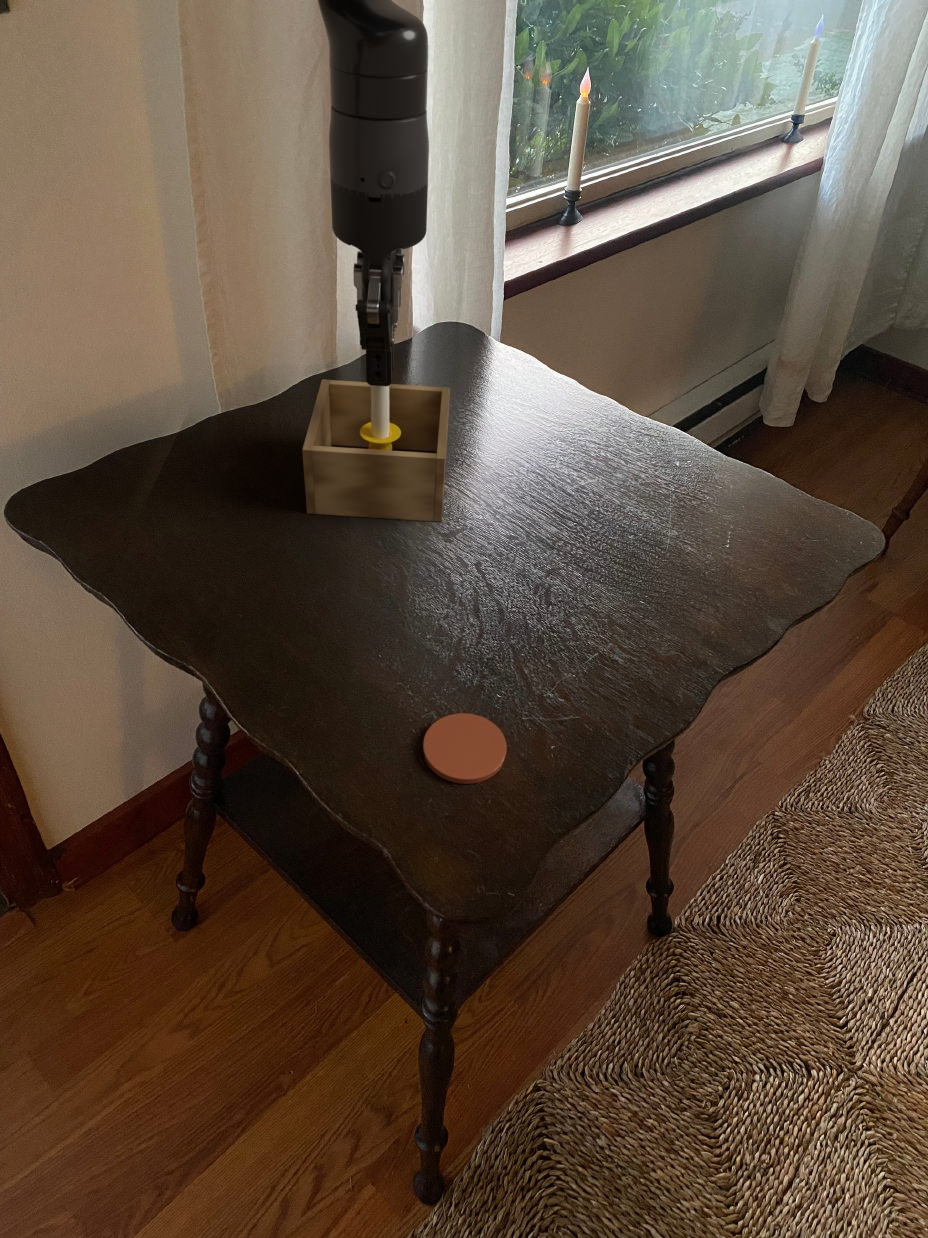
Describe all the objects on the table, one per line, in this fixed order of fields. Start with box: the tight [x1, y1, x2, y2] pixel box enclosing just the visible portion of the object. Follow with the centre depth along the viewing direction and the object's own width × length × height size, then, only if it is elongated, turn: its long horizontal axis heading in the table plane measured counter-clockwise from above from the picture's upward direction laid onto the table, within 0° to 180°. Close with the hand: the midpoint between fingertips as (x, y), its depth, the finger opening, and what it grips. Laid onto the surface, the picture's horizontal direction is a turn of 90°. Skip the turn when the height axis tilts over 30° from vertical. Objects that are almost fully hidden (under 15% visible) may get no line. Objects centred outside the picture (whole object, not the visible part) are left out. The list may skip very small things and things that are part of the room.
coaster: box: [422, 712, 508, 785], centre depth 64 cm, size 6×6×1 cm
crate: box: [301, 379, 451, 523], centre depth 86 cm, size 13×13×7 cm
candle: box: [360, 385, 401, 451], centre depth 83 cm, size 5×5×16 cm
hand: (380, 377), depth 81 cm, fingers closed on candle
